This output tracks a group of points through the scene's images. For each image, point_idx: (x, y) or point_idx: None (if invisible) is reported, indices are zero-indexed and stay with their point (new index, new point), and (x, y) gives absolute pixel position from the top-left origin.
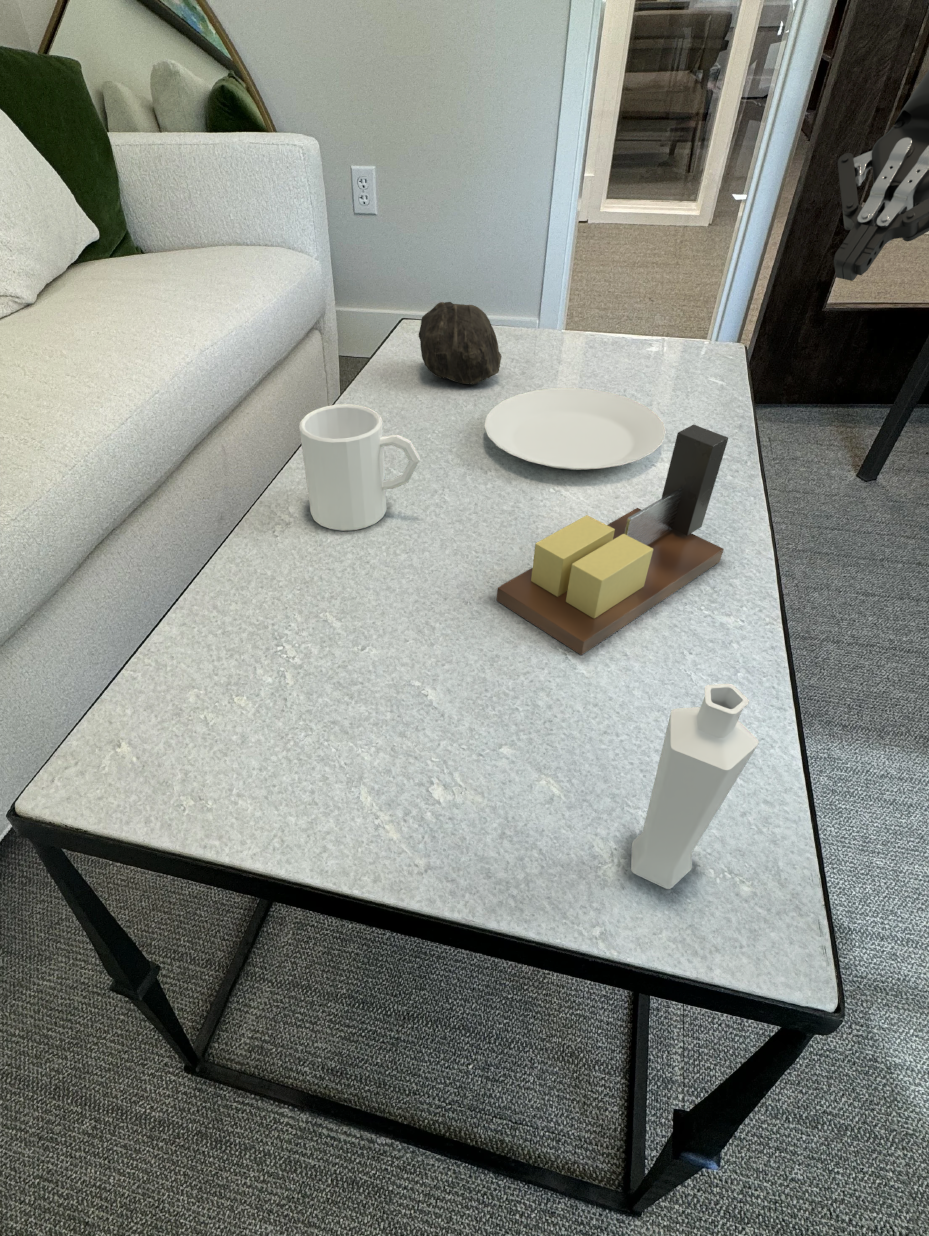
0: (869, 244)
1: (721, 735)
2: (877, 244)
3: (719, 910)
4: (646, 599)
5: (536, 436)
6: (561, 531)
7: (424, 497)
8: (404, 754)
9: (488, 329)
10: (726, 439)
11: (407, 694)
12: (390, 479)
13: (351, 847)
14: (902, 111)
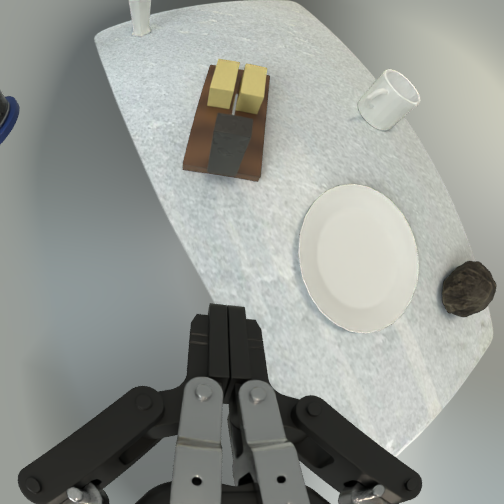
0: (204, 350)
1: None
2: (188, 353)
3: (121, 32)
4: (200, 98)
5: (379, 244)
6: (263, 79)
7: (365, 140)
8: (233, 24)
9: (470, 298)
10: (214, 128)
11: (252, 37)
12: (371, 105)
13: (221, 7)
14: None
